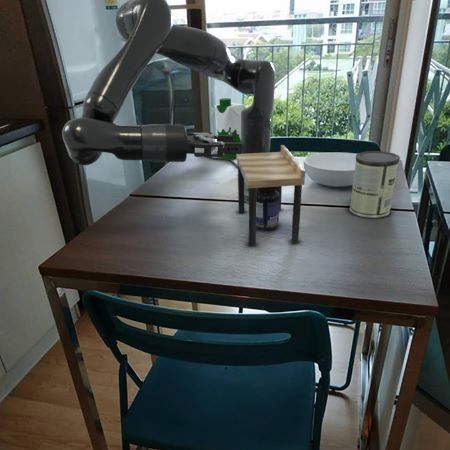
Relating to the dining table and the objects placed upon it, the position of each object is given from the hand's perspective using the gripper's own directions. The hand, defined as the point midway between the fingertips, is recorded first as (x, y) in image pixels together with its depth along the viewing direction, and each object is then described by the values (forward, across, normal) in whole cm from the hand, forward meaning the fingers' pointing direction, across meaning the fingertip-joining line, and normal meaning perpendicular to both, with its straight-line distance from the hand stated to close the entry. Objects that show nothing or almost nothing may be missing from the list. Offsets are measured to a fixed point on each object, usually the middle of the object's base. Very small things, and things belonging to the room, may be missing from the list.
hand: (237, 144), depth 97 cm
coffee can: (+37, +3, +17) cm, 41 cm away
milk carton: (+14, +68, +17) cm, 71 cm away
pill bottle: (+9, +1, +20) cm, 21 cm away
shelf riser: (+9, +1, +19) cm, 21 cm away
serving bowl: (+39, +27, +16) cm, 50 cm away
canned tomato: (+12, +20, +19) cm, 30 cm away
